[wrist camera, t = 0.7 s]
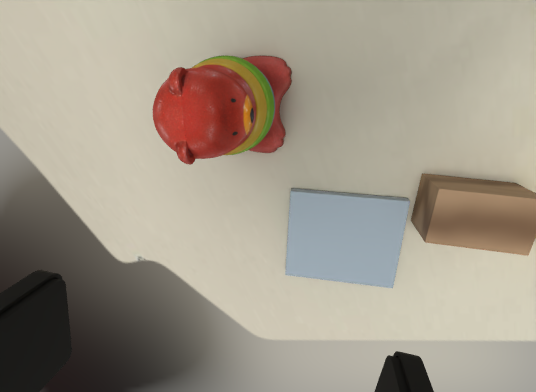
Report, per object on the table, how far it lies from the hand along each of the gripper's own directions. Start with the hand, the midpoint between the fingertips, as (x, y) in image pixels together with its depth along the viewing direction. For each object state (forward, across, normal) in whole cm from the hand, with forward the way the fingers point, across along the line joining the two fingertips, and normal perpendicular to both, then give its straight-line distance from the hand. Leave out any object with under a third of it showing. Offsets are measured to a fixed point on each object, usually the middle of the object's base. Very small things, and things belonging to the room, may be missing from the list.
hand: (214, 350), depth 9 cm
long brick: (+32, -20, +3) cm, 38 cm away
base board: (+32, -8, +10) cm, 34 cm away
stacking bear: (+32, +7, -4) cm, 33 cm away
